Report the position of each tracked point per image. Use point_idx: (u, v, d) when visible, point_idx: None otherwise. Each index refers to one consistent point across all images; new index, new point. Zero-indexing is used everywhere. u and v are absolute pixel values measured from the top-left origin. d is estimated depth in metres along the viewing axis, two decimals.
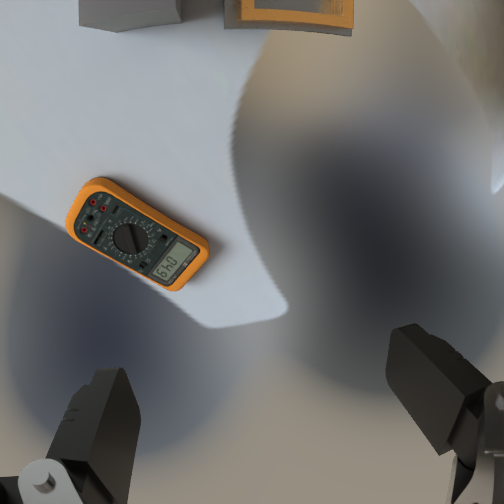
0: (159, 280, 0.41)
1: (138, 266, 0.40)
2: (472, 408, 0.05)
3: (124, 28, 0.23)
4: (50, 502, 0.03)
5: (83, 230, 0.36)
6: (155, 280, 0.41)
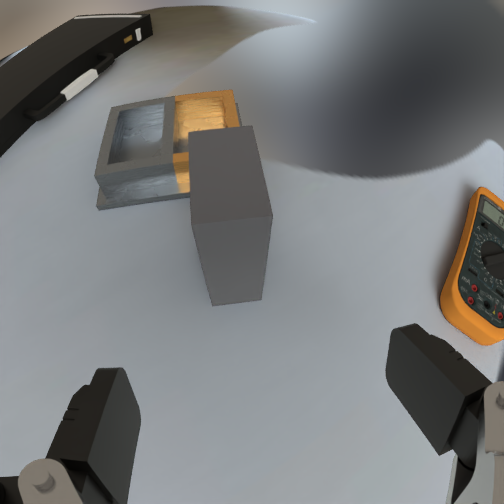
0: None
1: None
2: (472, 408, 0.05)
3: None
4: (50, 502, 0.03)
5: (500, 318, 0.23)
6: None
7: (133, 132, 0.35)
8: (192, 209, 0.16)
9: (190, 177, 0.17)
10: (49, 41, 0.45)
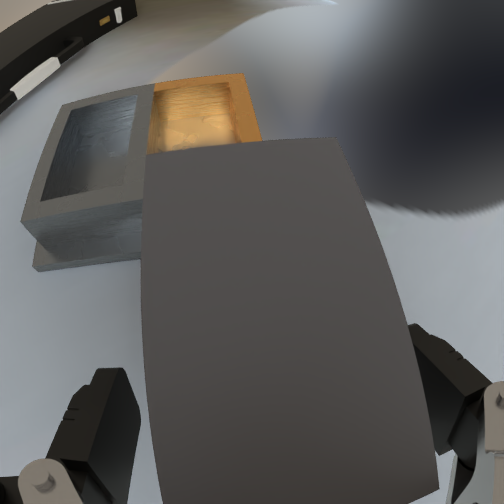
0: None
1: None
2: (472, 408, 0.05)
3: None
4: (50, 502, 0.03)
5: None
6: None
7: (93, 140, 0.22)
8: (169, 498, 0.03)
9: (147, 351, 0.04)
10: (13, 30, 0.32)
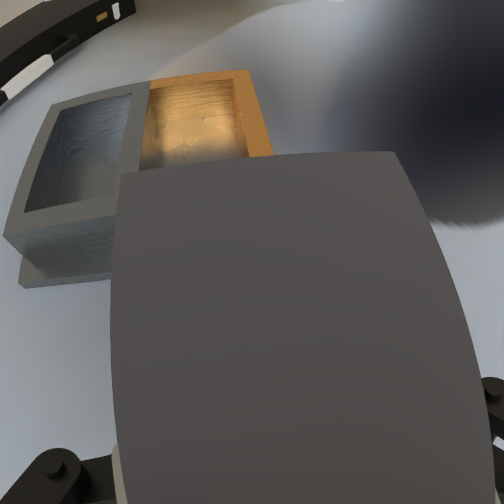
0: None
1: None
2: None
3: None
4: None
5: None
6: None
7: (85, 143, 0.20)
8: None
9: (131, 493, 0.02)
10: (8, 28, 0.30)
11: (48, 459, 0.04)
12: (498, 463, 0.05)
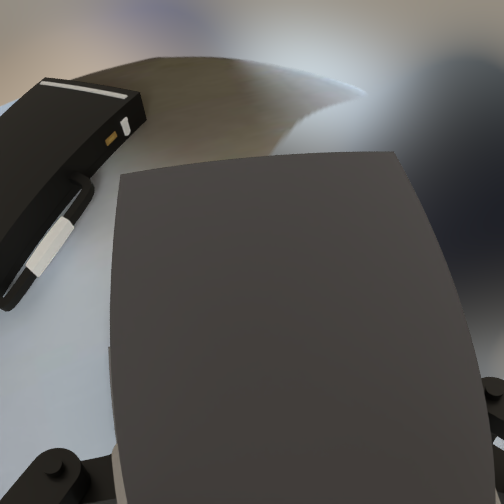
0: None
1: None
2: None
3: None
4: None
5: None
6: None
7: None
8: None
9: (131, 494, 0.02)
10: (6, 132, 0.35)
11: (48, 458, 0.04)
12: (498, 463, 0.05)
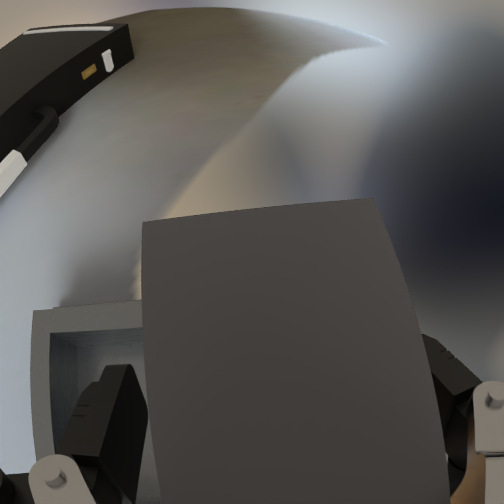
0: None
1: None
2: (462, 407, 0.05)
3: None
4: (61, 498, 0.04)
5: None
6: None
7: (95, 360, 0.15)
8: None
9: (162, 477, 0.03)
10: None
11: None
12: None
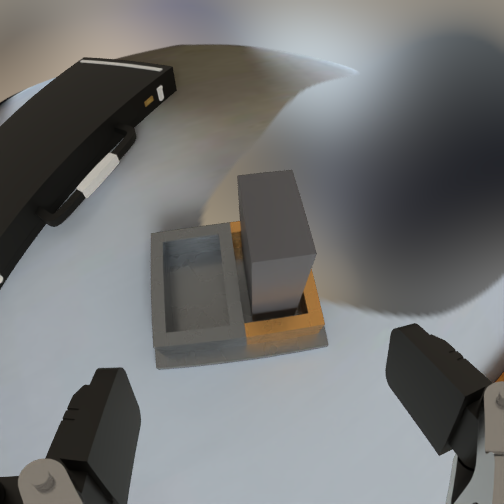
0: None
1: None
2: (472, 408, 0.05)
3: None
4: (50, 502, 0.03)
5: None
6: None
7: (180, 262, 0.33)
8: (251, 249, 0.20)
9: (245, 219, 0.21)
10: (53, 97, 0.44)
11: None
12: None
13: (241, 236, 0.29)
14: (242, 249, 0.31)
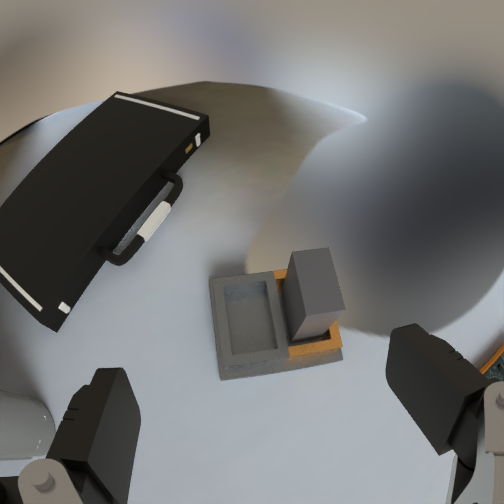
0: None
1: None
2: (472, 408, 0.05)
3: None
4: (50, 502, 0.03)
5: None
6: None
7: (233, 298, 0.44)
8: (305, 307, 0.31)
9: (300, 286, 0.32)
10: (95, 135, 0.53)
11: None
12: None
13: (284, 284, 0.40)
14: (283, 292, 0.41)
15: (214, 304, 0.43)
